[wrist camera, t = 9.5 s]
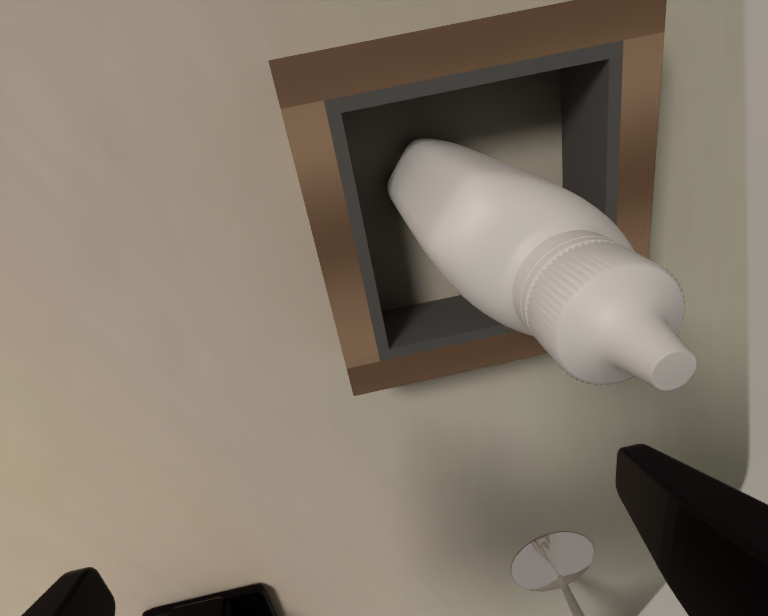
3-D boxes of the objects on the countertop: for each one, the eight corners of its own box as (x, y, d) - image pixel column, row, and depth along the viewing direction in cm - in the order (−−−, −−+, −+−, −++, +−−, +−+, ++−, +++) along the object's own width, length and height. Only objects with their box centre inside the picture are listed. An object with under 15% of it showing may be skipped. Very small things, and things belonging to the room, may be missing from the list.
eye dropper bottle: (443, 286, 19) (601, 541, 8) (370, 165, 17) (458, 304, 6) (539, 228, 19) (840, 422, 8) (477, 94, 16) (784, 110, 6)
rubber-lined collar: (600, 298, 20) (643, 331, 18) (349, 354, 20) (353, 396, 17) (607, -1, 16) (667, -19, 13) (277, 65, 15) (268, 60, 13)
